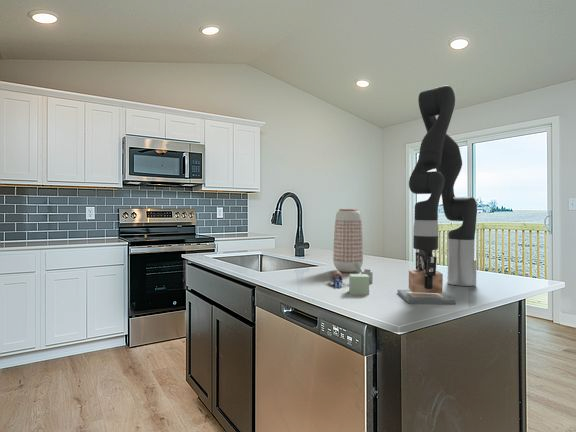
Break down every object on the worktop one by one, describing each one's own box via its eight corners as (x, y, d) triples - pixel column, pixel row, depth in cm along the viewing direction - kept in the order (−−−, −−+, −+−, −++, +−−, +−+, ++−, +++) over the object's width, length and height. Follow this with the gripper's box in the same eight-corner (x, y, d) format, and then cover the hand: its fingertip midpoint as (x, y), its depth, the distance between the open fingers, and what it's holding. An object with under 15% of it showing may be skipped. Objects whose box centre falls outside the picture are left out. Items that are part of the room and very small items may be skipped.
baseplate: (439, 293, 130) (439, 290, 130) (455, 304, 116) (455, 300, 116) (397, 293, 131) (397, 289, 131) (408, 303, 117) (408, 299, 117)
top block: (366, 291, 134) (366, 274, 134) (368, 294, 129) (369, 276, 129) (349, 291, 134) (349, 273, 134) (350, 294, 129) (351, 276, 129)
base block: (437, 289, 126) (437, 270, 126) (442, 293, 120) (442, 274, 120) (408, 288, 127) (408, 270, 127) (412, 292, 121) (412, 273, 121)
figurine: (345, 293, 139) (342, 281, 151) (346, 279, 138) (342, 268, 150) (330, 293, 139) (328, 281, 151) (330, 279, 138) (328, 268, 150)
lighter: (372, 282, 149) (372, 262, 149) (372, 283, 148) (372, 262, 148) (353, 281, 151) (354, 261, 151) (353, 282, 150) (353, 261, 150)
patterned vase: (343, 274, 167) (344, 209, 166) (327, 270, 179) (328, 209, 178) (368, 272, 172) (369, 209, 172) (351, 268, 184) (352, 209, 184)
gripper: (445, 236, 116) (445, 291, 116) (430, 233, 130) (429, 282, 131) (420, 235, 116) (419, 291, 117) (407, 232, 131) (407, 282, 131)
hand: (425, 286), depth 124 cm, fingers closed on base block, 6 cm apart
